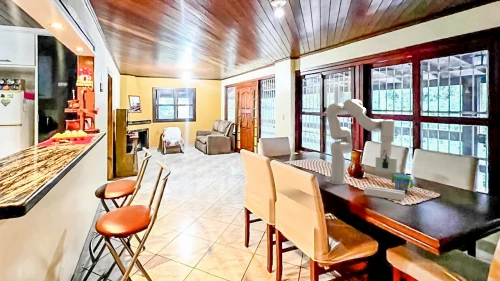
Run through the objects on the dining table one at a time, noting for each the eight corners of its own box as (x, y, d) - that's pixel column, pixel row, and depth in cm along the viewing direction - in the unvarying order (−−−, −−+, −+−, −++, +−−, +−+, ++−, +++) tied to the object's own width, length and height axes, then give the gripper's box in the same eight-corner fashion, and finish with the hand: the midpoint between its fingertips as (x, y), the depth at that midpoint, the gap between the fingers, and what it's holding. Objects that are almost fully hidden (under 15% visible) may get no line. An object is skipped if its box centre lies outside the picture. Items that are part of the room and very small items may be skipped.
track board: (363, 194, 197) (363, 188, 197) (367, 190, 205) (367, 185, 205) (402, 200, 184) (402, 194, 183) (404, 196, 192) (405, 190, 191)
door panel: (375, 170, 195) (375, 157, 194) (376, 170, 197) (376, 156, 196) (395, 172, 188) (396, 158, 187) (396, 172, 190) (396, 158, 189)
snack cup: (416, 192, 201) (417, 177, 200) (404, 193, 198) (405, 178, 197) (399, 186, 216) (399, 172, 215) (387, 187, 213) (387, 173, 212)
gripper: (383, 138, 199) (382, 165, 201) (377, 140, 186) (376, 169, 188) (395, 138, 195) (394, 166, 197) (390, 140, 182) (389, 170, 183)
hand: (385, 167), depth 192 cm, fingers closed on door panel, 3 cm apart
